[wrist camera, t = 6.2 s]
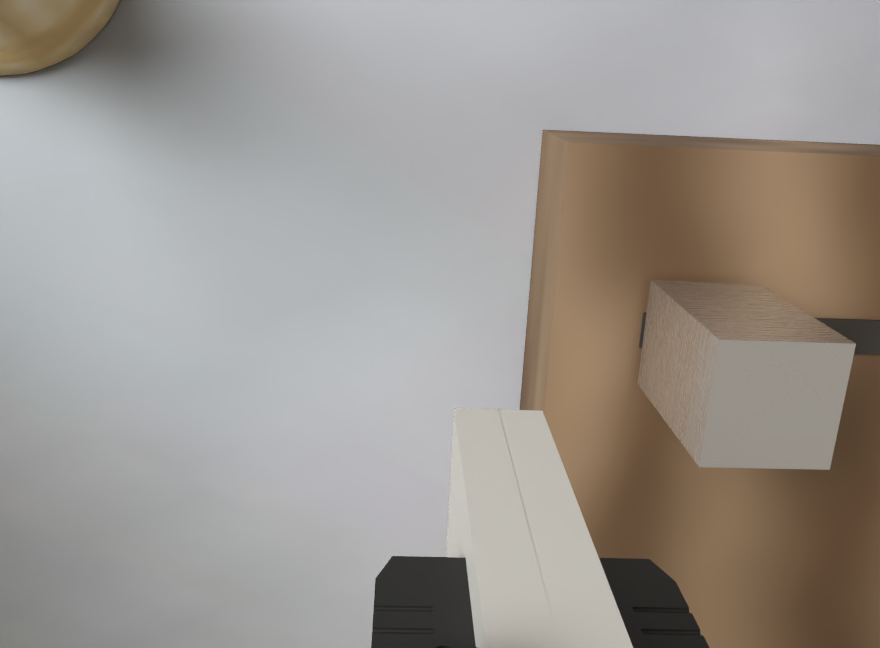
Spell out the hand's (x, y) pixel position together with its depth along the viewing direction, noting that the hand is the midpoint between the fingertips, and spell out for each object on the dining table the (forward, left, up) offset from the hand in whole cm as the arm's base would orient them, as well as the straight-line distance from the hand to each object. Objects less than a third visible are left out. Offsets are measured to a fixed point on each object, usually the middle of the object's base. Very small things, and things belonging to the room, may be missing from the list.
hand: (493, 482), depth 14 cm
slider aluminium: (+7, 0, -9) cm, 11 cm away
